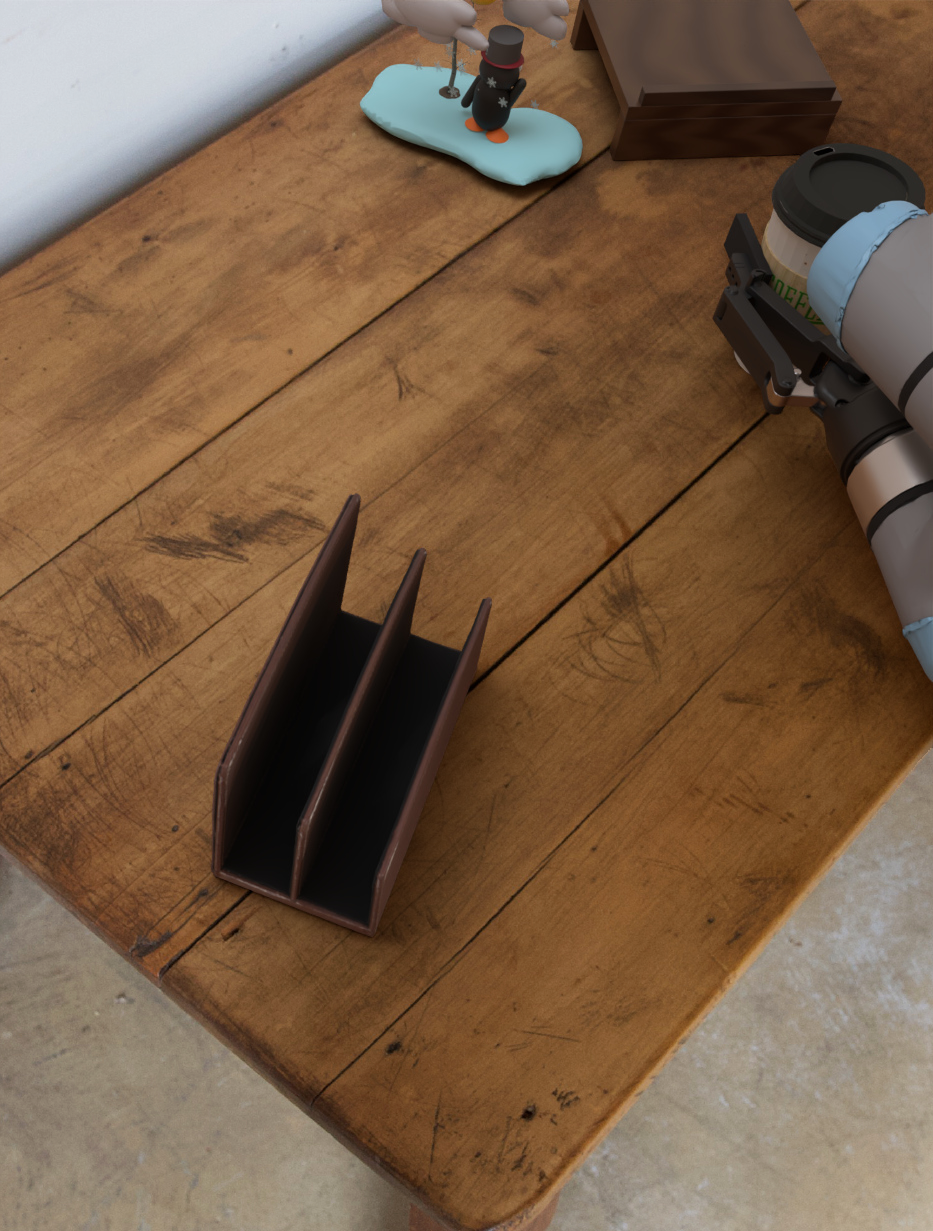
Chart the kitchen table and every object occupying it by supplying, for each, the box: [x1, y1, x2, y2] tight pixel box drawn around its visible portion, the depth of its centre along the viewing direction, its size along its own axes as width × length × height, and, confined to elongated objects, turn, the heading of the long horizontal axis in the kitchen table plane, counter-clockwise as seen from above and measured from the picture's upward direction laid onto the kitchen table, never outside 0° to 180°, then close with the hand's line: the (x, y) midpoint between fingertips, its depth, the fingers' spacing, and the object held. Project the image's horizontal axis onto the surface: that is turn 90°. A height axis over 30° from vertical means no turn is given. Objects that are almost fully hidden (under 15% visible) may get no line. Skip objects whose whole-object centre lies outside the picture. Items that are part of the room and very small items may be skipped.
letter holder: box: [210, 492, 493, 938], centre depth 70 cm, size 10×20×14 cm, turn 157°
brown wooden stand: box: [569, 0, 843, 161], centre depth 110 cm, size 18×18×6 cm
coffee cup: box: [733, 142, 926, 375], centre depth 89 cm, size 10×10×15 cm
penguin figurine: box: [359, 0, 584, 187], centre depth 103 cm, size 20×11×15 cm, turn 50°
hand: (798, 227), depth 91 cm, fingers closed on coffee cup, 9 cm apart
